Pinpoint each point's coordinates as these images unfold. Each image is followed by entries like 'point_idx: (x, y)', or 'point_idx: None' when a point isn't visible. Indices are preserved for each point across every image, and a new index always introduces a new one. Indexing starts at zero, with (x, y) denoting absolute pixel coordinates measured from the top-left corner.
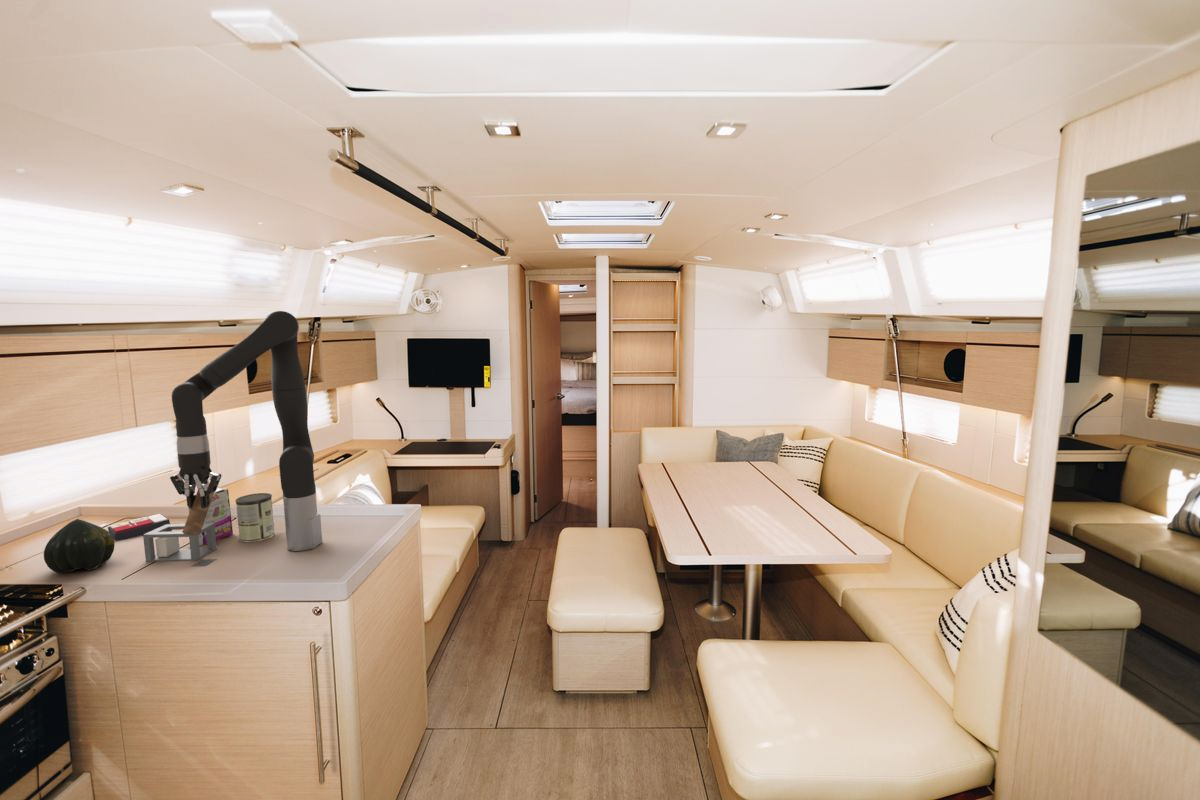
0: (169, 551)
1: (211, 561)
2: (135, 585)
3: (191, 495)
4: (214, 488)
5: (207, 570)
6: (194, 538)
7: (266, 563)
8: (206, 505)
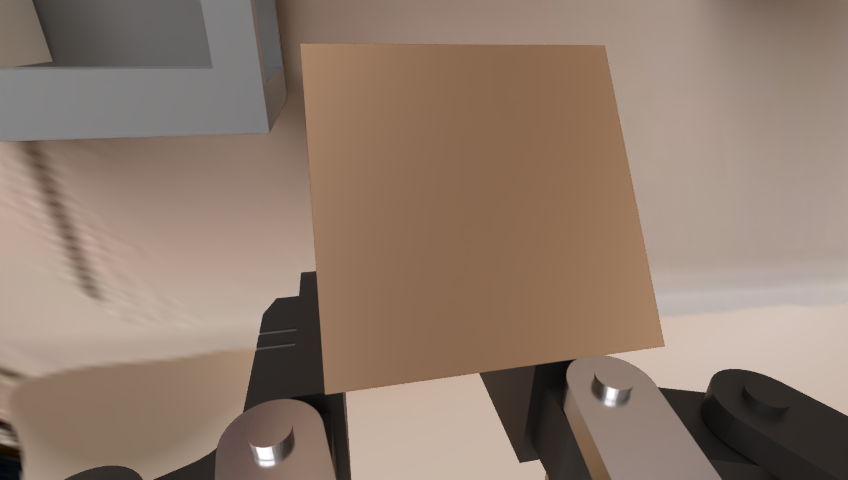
0: (27, 35)
1: None
2: (229, 339)
3: (336, 471)
4: (818, 451)
5: None
6: (272, 125)
7: (639, 134)
8: None
